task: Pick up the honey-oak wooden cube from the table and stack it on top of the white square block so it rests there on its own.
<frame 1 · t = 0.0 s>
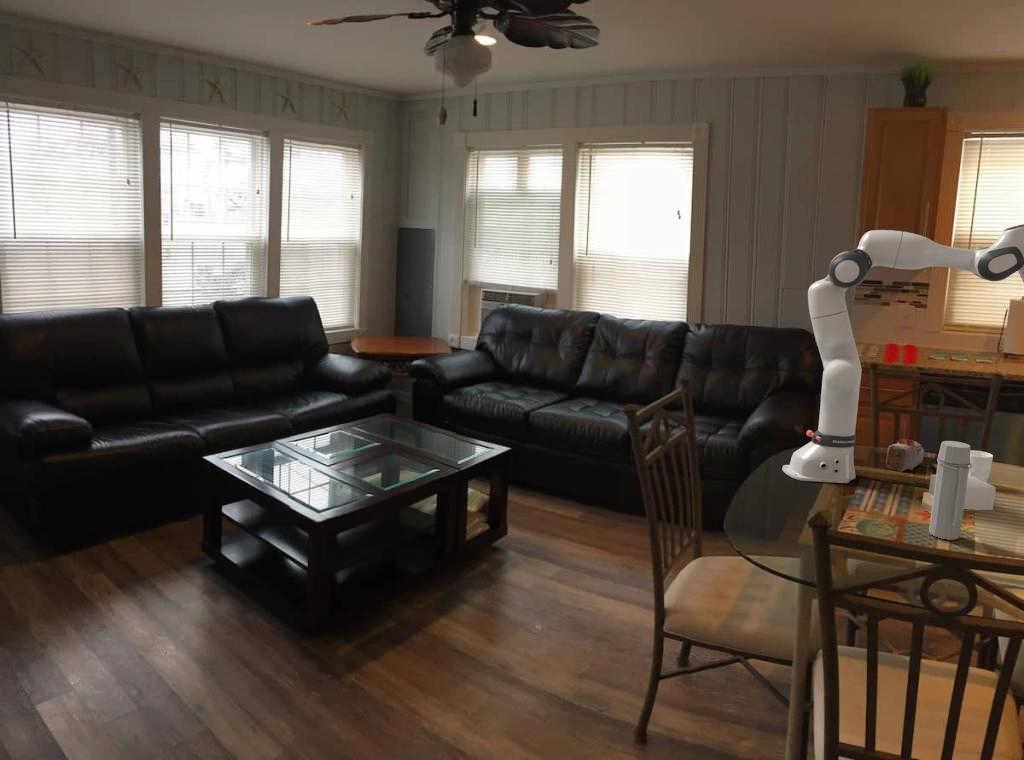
white cup: (974, 484, 251), on the table
water bottle: (945, 538, 207), on the table
white square block: (959, 503, 234), on the table
food item: (903, 467, 268), on the table
oak cube: (934, 511, 226), on the table
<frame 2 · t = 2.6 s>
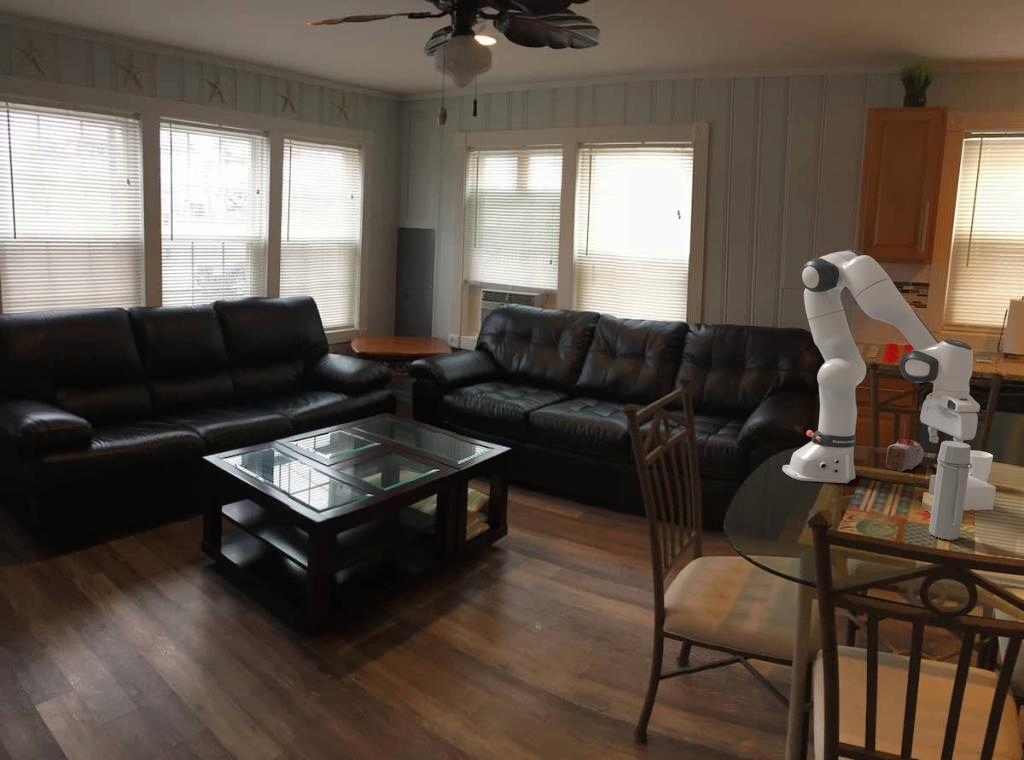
hand: (943, 447, 222), 19 cm above the table, tool pointing down, fingers open, 8 cm apart
nothing on the table moved.
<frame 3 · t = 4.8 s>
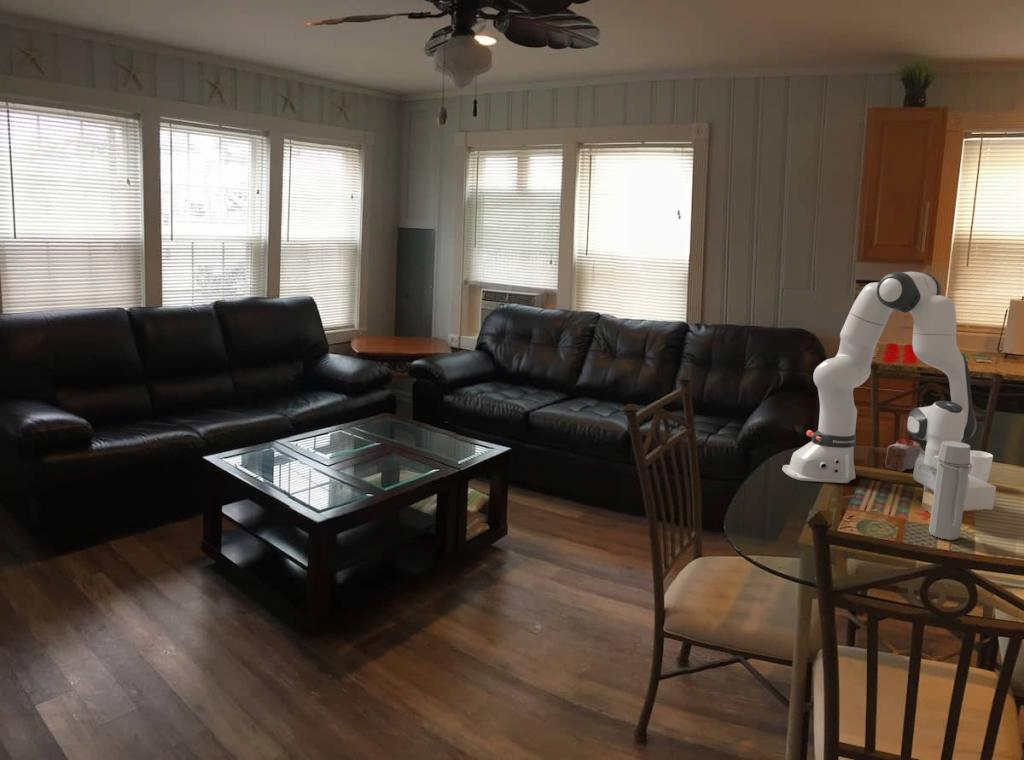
hand: (935, 505, 225), 2 cm above the table, tool pointing down, fingers closed on oak cube, 5 cm apart
oak cube: (934, 511, 226), on the table, touching gripper
everything else where it was.
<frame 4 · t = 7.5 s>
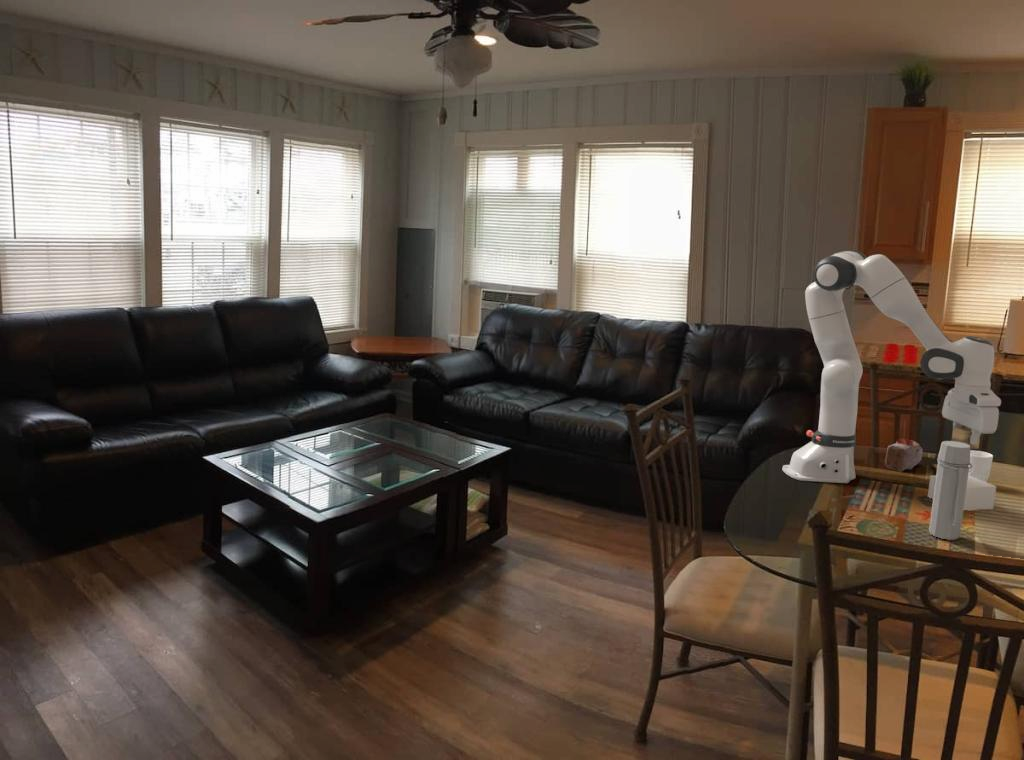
hand: (965, 440, 228), 19 cm above the table, tool pointing down, fingers closed on oak cube, 5 cm apart
oak cube: (964, 446, 229), point 18 cm above the table, touching gripper
everything else where it was.
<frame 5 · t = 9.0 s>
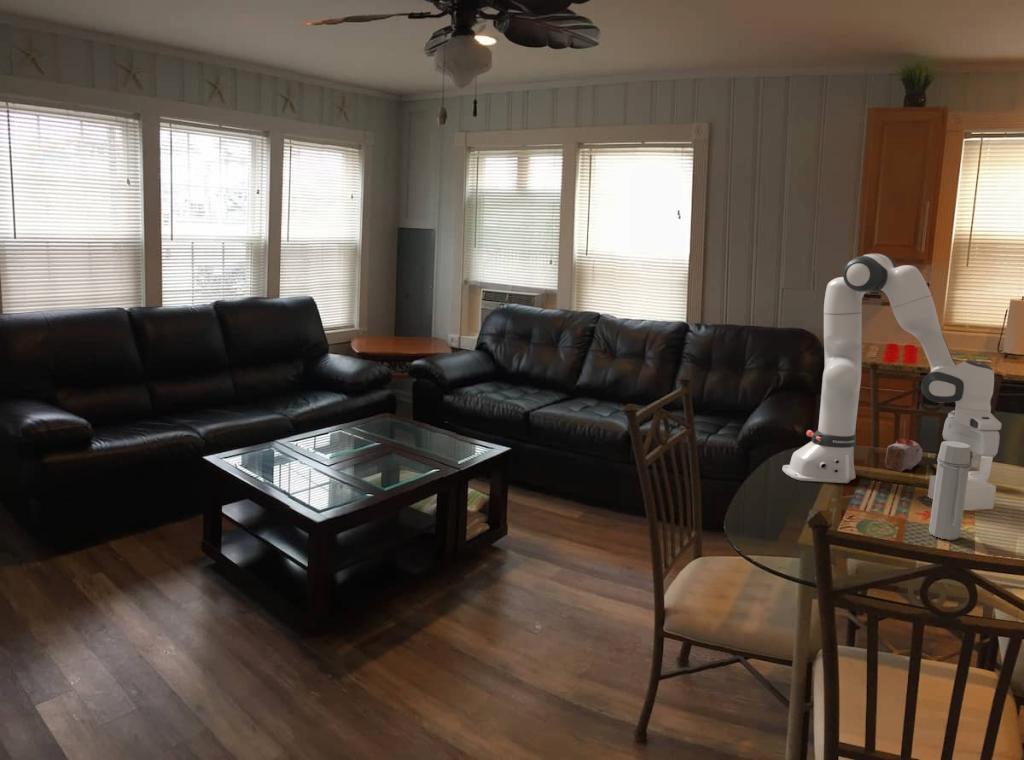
hand: (966, 463, 231), 12 cm above the table, tool pointing down, fingers closed on oak cube, 5 cm apart
oak cube: (965, 468, 231), point 11 cm above the table, touching gripper
everything else where it was.
when the fingers open (10 cm above the table, at t = 10.3 s): oak cube drops 1 cm, point 7 cm above the table.
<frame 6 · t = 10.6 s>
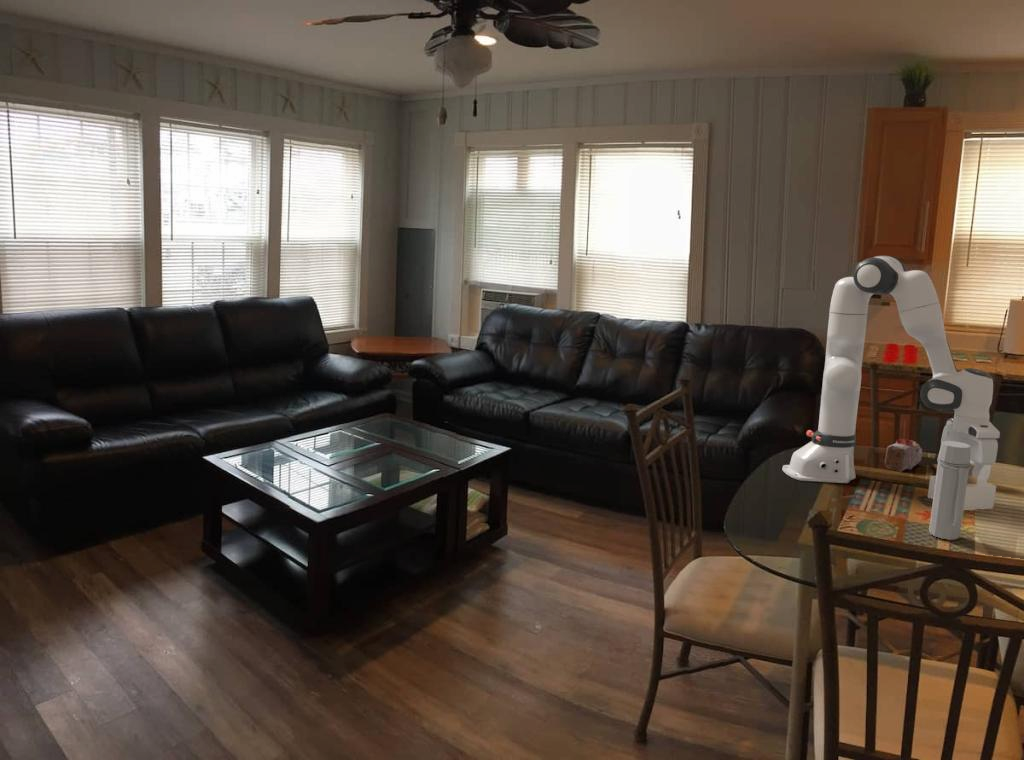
hand: (964, 470, 232), 10 cm above the table, tool pointing down, fingers open, 8 cm apart
oak cube: (963, 480, 232), point 7 cm above the table
everything else where it was.
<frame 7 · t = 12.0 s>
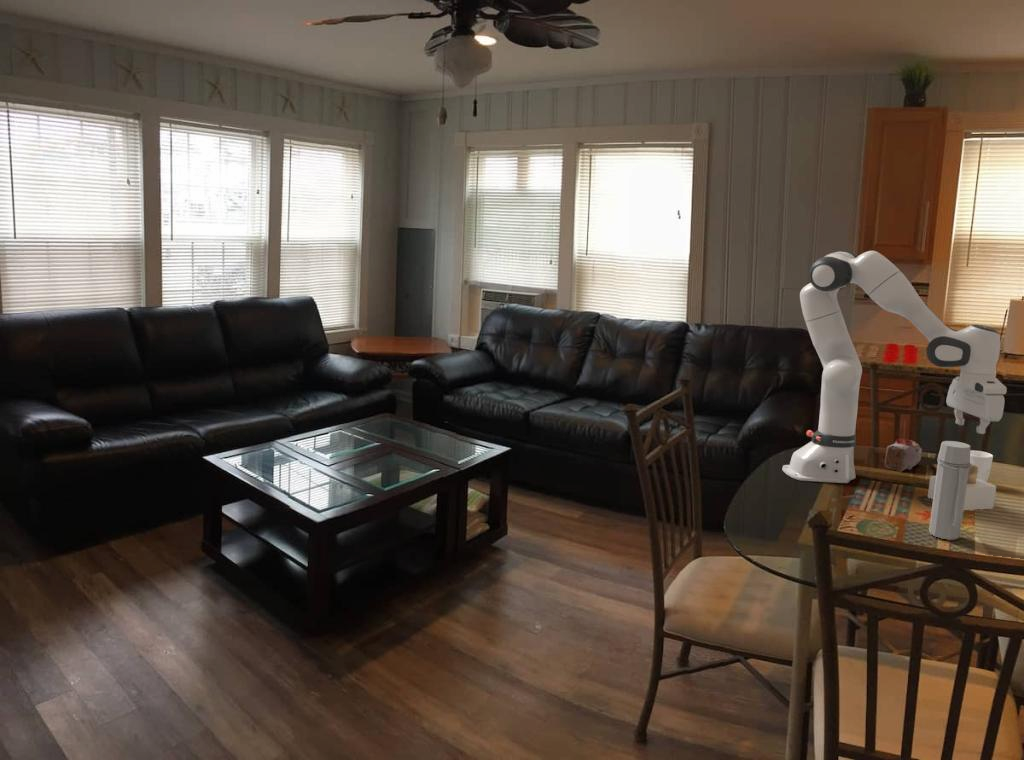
hand: (969, 428, 229), 23 cm above the table, tool pointing down, fingers open, 8 cm apart
nothing on the table moved.
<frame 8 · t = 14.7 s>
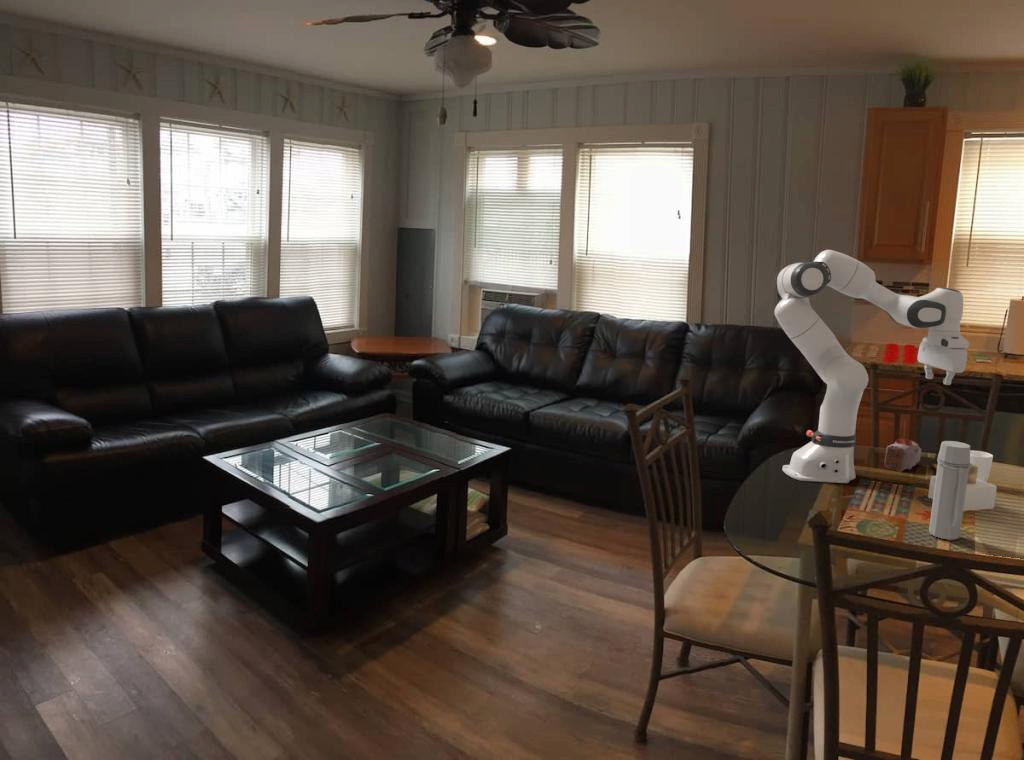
hand: (937, 381, 254), 31 cm above the table, tool pointing down, fingers open, 8 cm apart
white square block: (960, 503, 233), on the table, touching oak cube
oak cube: (962, 480, 232), point 7 cm above the table, touching white square block
everything else where it was.
at the end: oak cube inside the target area on the white square block (0.2 cm from its centre), point 7.0 cm above the white square block's base; oak cube tilted 0°; the gripper is holding nothing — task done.
